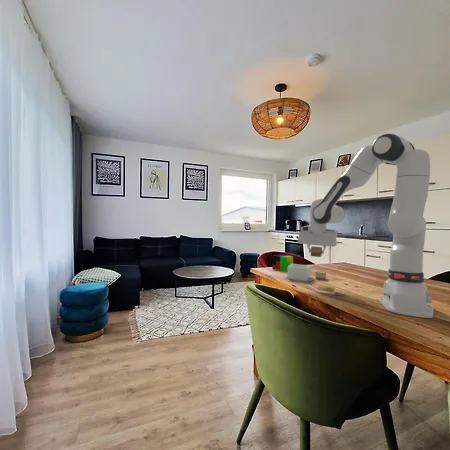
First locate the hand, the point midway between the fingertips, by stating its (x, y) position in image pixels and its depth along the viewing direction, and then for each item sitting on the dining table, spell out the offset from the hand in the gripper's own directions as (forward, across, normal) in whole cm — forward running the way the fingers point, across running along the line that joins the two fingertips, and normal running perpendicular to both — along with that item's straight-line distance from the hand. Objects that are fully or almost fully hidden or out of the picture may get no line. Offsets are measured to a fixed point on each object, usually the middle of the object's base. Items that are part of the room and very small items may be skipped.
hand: (316, 253), depth 141 cm
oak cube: (+16, -2, -7) cm, 18 cm away
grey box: (+16, +9, -1) cm, 18 cm away
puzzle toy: (+18, +26, -24) cm, 39 cm away
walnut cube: (+2, 0, 0) cm, 2 cm away
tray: (+17, +9, -1) cm, 19 cm away
